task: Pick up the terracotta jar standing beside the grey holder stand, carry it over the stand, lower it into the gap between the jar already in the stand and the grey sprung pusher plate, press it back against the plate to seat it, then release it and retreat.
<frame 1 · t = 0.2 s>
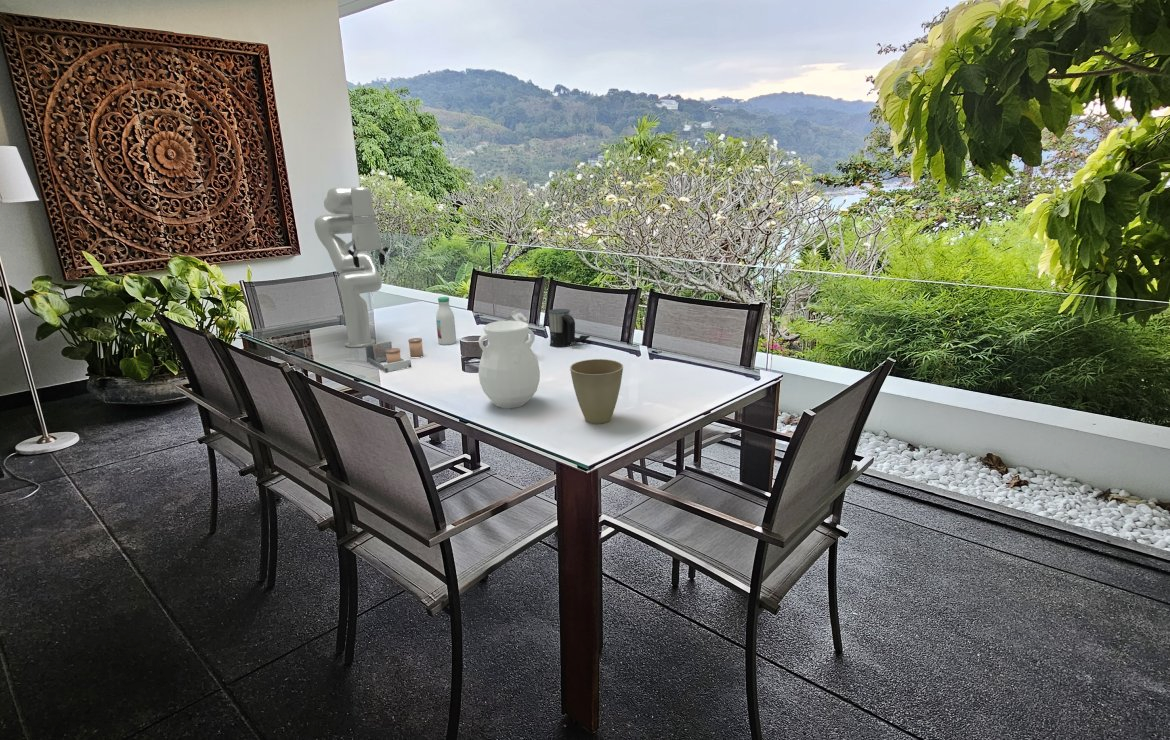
hand: (369, 265, 240), 36 cm above the table, tool pointing down, fingers open, 9 cm apart
milk frother: (569, 344, 262), on the table
jar: (416, 356, 248), on the table
plant pot: (597, 420, 177), on the table
milk bottle: (447, 343, 268), on the table
pusher plate: (380, 350, 243), point 4 cm above the table, slide at 0.0 cm
grey holder stand: (388, 364, 237), on the table
loaded jar: (394, 367, 233), resting in grey holder stand
white vase: (511, 404, 191), on the table
milk carton: (517, 358, 242), on the table
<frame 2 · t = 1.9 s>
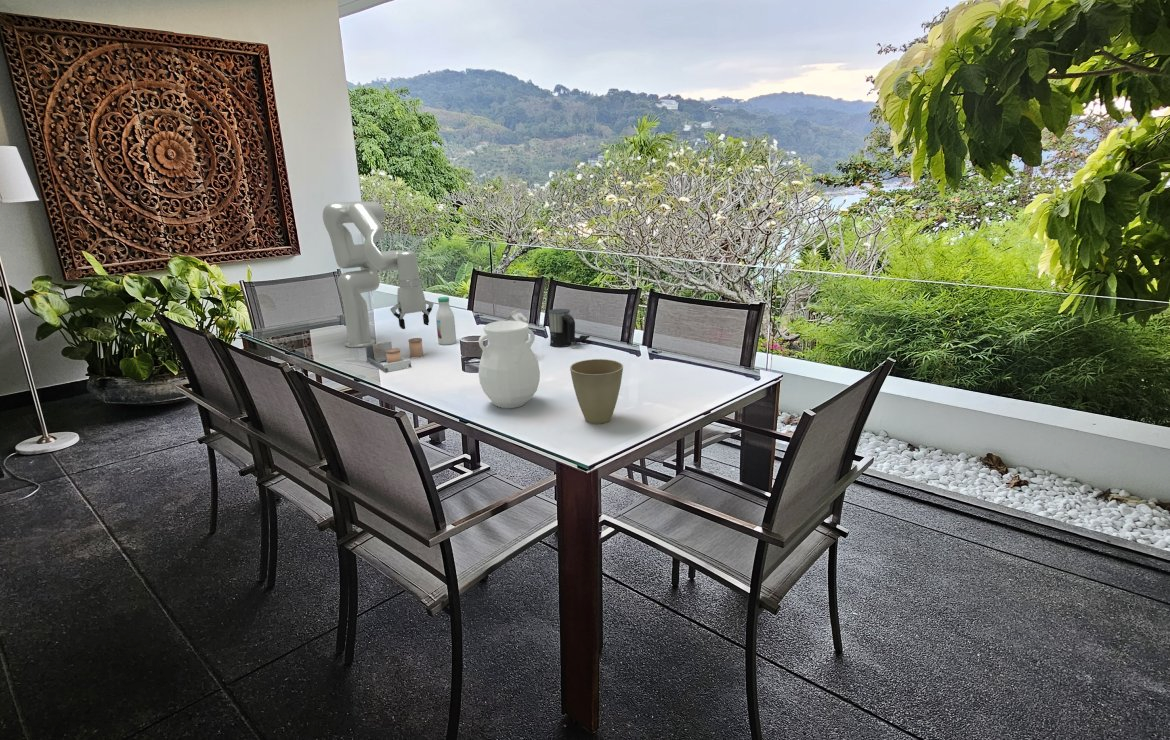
hand: (414, 326, 244), 12 cm above the table, tool pointing down, fingers open, 9 cm apart
nothing on the table moved.
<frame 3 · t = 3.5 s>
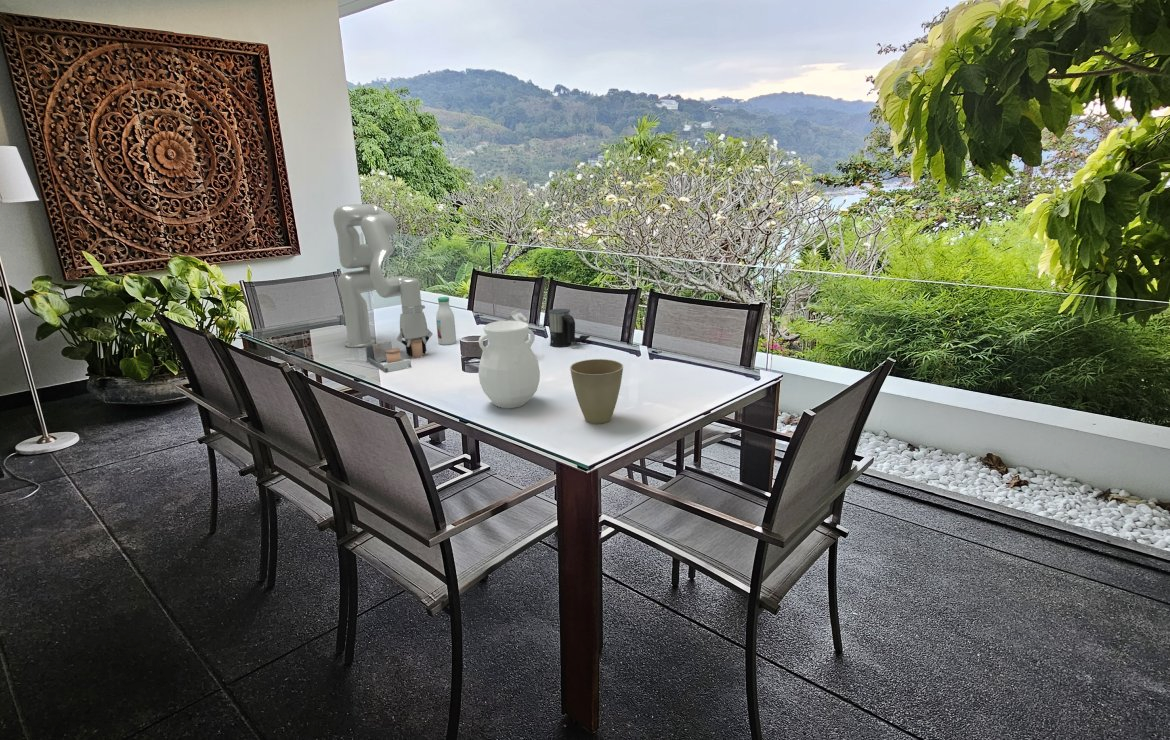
hand: (416, 353, 248), 1 cm above the table, tool pointing down, fingers closed on jar, 5 cm apart
jar: (416, 356, 248), on the table, touching gripper
everything else where it was.
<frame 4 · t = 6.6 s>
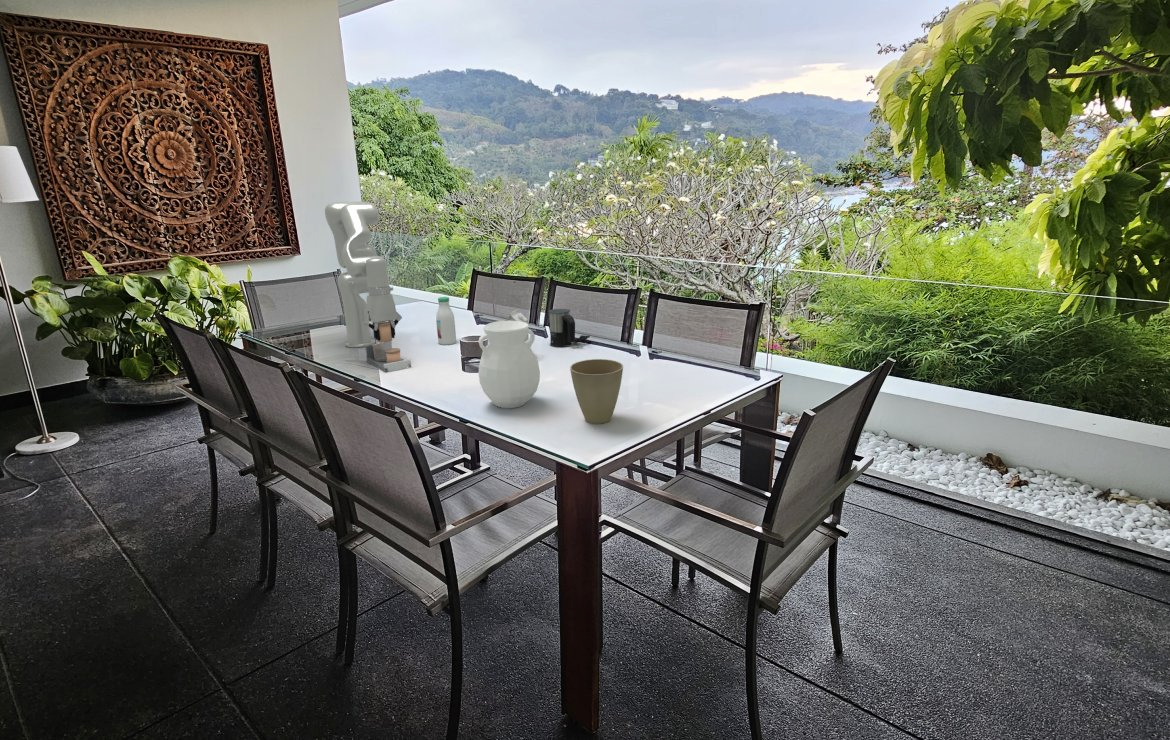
hand: (385, 338, 235), 10 cm above the table, tool pointing down, fingers closed on jar, 5 cm apart
jar: (385, 340, 235), point 9 cm above the table, touching gripper
everything else where it was.
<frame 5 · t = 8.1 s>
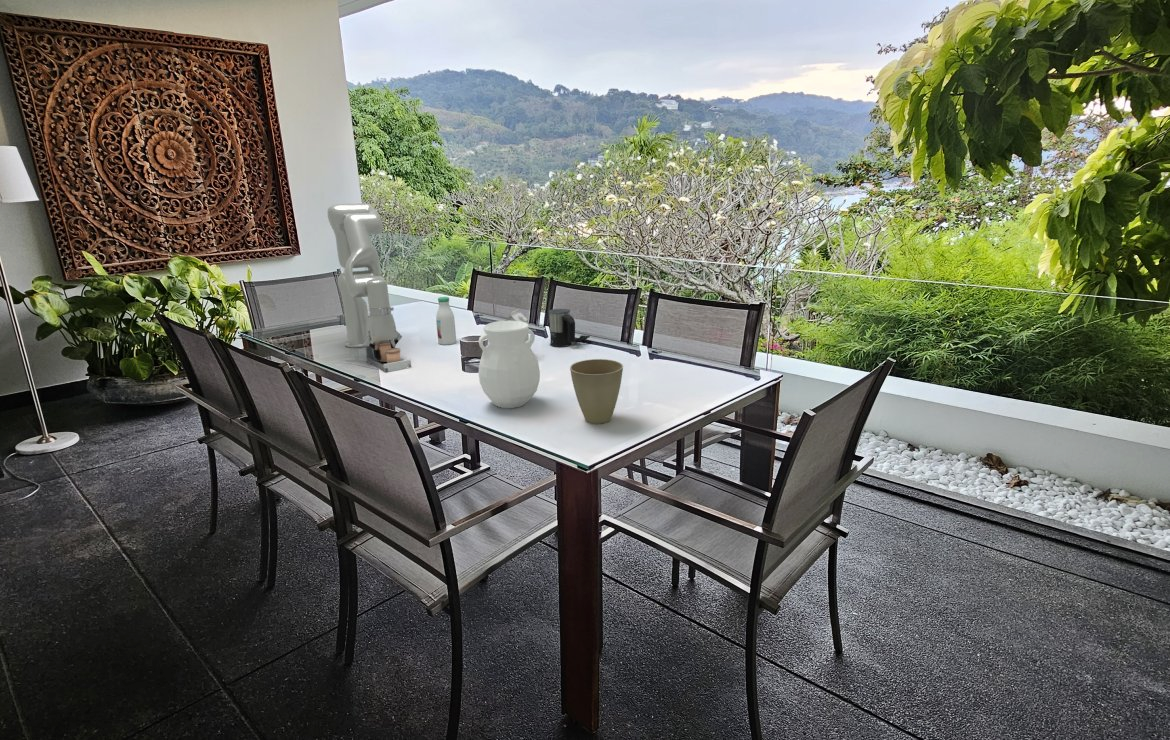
hand: (385, 357, 239), 2 cm above the table, tool pointing down, fingers closed on jar, 5 cm apart
jar: (385, 359, 239), point 1 cm above the table, touching gripper, pusher plate
pusher plate: (379, 349, 243), point 4 cm above the table, slide at 1.1 cm, touching jar
everything else where it was.
when the fingers open (2 cm above the table, at t = 9.7 s): jar drops 1 cm, resting in grey holder stand.
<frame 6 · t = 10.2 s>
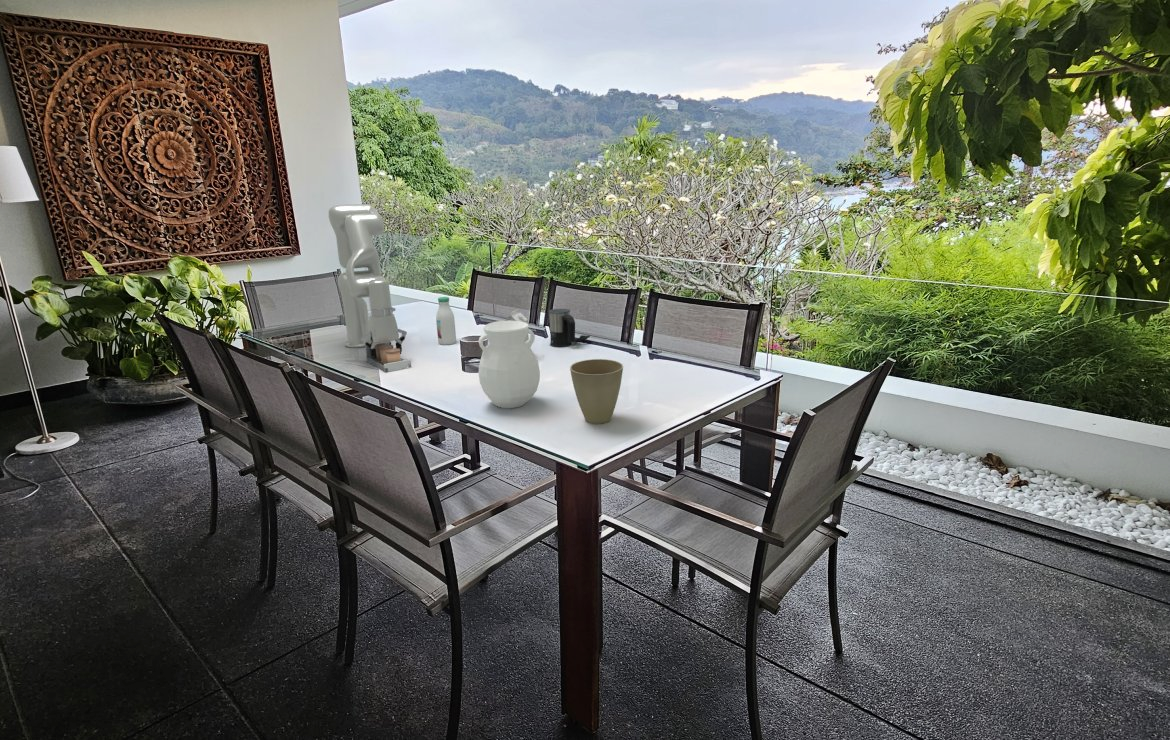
hand: (386, 355, 237), 3 cm above the table, tool pointing down, fingers open, 9 cm apart
jar: (388, 363, 238), resting in grey holder stand
pusher plate: (379, 349, 243), point 4 cm above the table, slide at 0.5 cm
everything else where it was.
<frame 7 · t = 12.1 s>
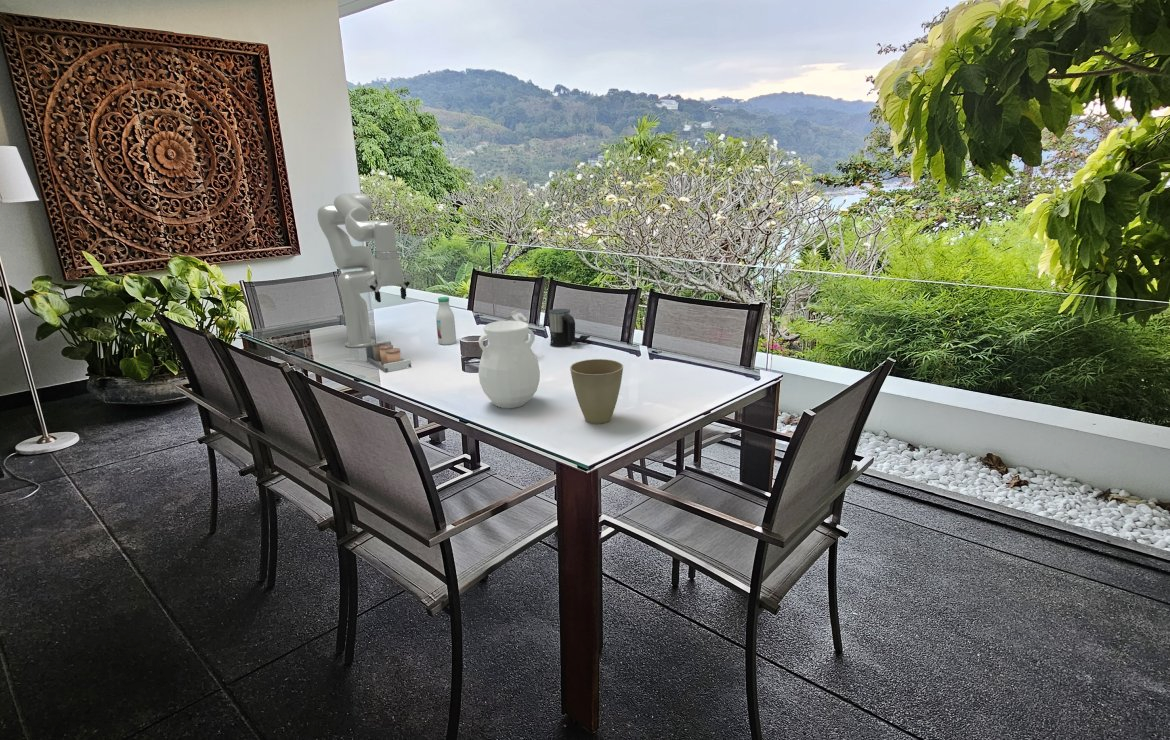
hand: (391, 300, 238), 23 cm above the table, tool pointing down, fingers open, 9 cm apart
nothing on the table moved.
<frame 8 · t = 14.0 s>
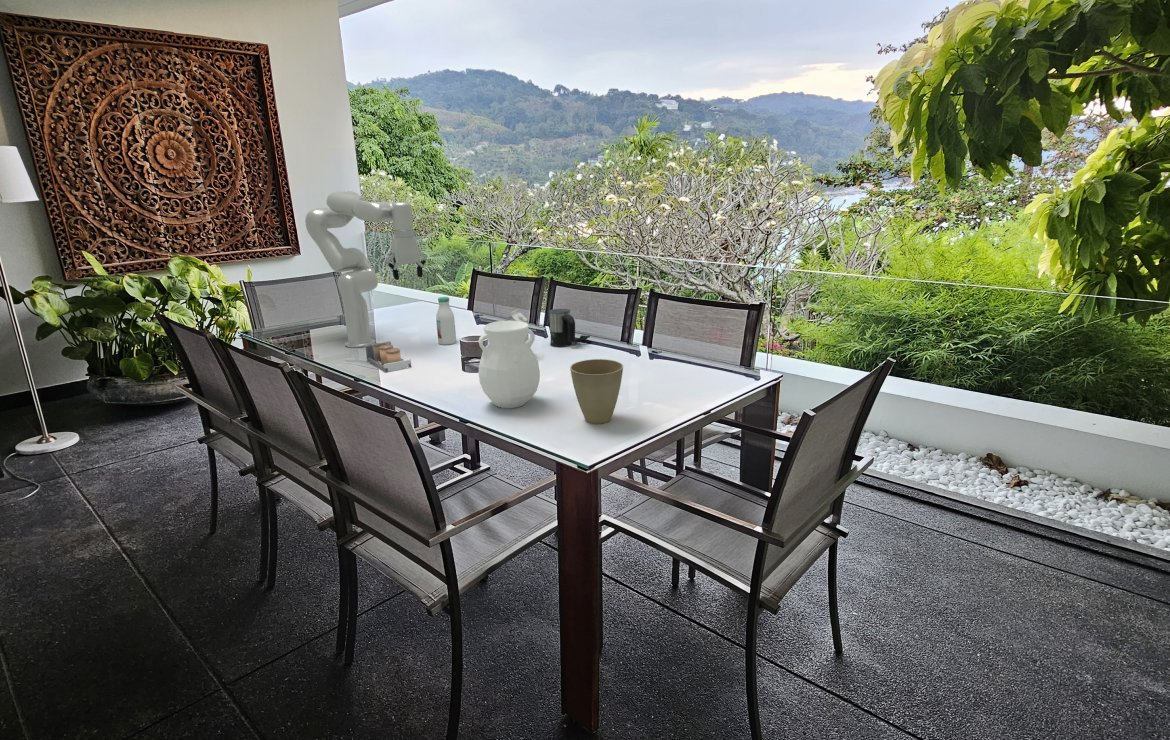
hand: (408, 278, 247), 30 cm above the table, tool pointing down, fingers open, 9 cm apart
nothing on the table moved.
at the end: jar 0.1 cm from the target spot on the grey holder stand, point 0.0 cm above the grey holder stand's base; jar tilted 0°; the gripper is holding nothing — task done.
